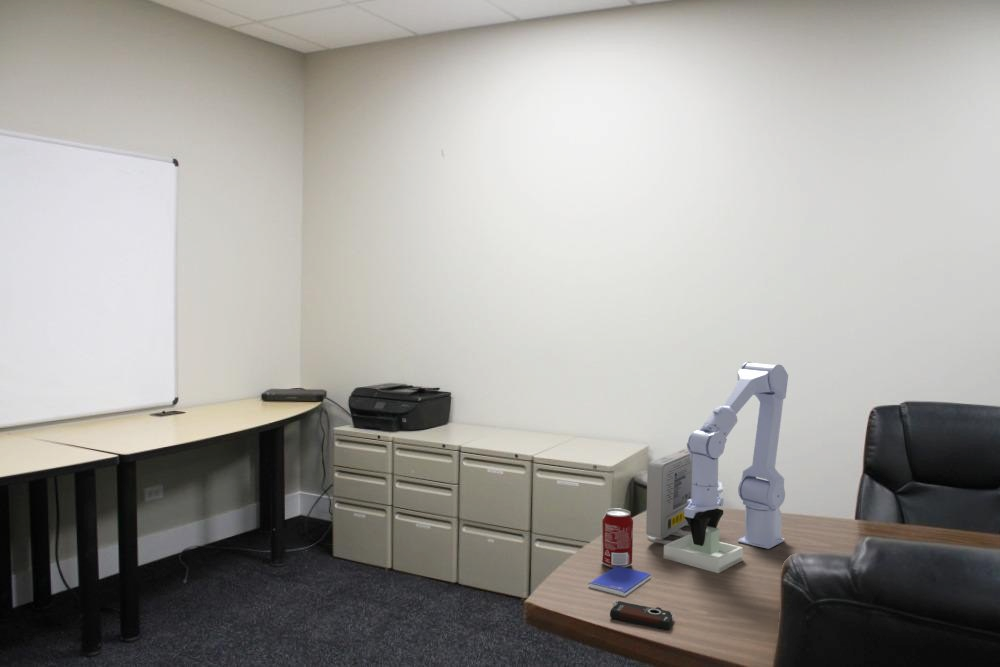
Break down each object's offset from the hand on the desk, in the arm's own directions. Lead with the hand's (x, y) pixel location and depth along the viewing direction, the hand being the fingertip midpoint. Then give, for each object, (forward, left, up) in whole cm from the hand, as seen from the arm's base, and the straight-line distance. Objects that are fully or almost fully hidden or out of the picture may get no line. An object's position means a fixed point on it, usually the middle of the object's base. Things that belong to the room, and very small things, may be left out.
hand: (703, 542), depth 175 cm
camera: (+37, +8, -4) cm, 39 cm away
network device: (-13, -15, -4) cm, 20 cm away
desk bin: (0, 0, -4) cm, 4 cm away
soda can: (+17, -12, -4) cm, 21 cm away
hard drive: (+25, -6, -5) cm, 26 cm away
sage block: (0, 0, -2) cm, 2 cm away
